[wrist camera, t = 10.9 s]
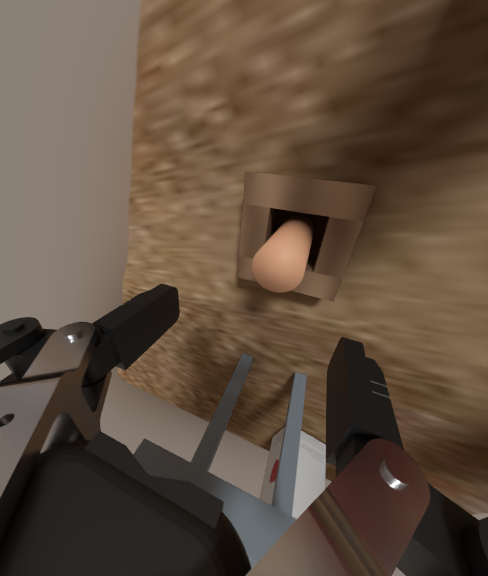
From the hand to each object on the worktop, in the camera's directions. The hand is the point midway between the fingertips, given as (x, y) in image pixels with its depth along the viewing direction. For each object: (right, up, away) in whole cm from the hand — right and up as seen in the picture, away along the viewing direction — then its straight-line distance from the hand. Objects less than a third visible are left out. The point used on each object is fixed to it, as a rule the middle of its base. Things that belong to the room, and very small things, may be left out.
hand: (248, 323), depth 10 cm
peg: (+6, +9, +16) cm, 19 cm away
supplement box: (+12, -32, +36) cm, 50 cm away
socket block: (+6, +9, +16) cm, 19 cm away
